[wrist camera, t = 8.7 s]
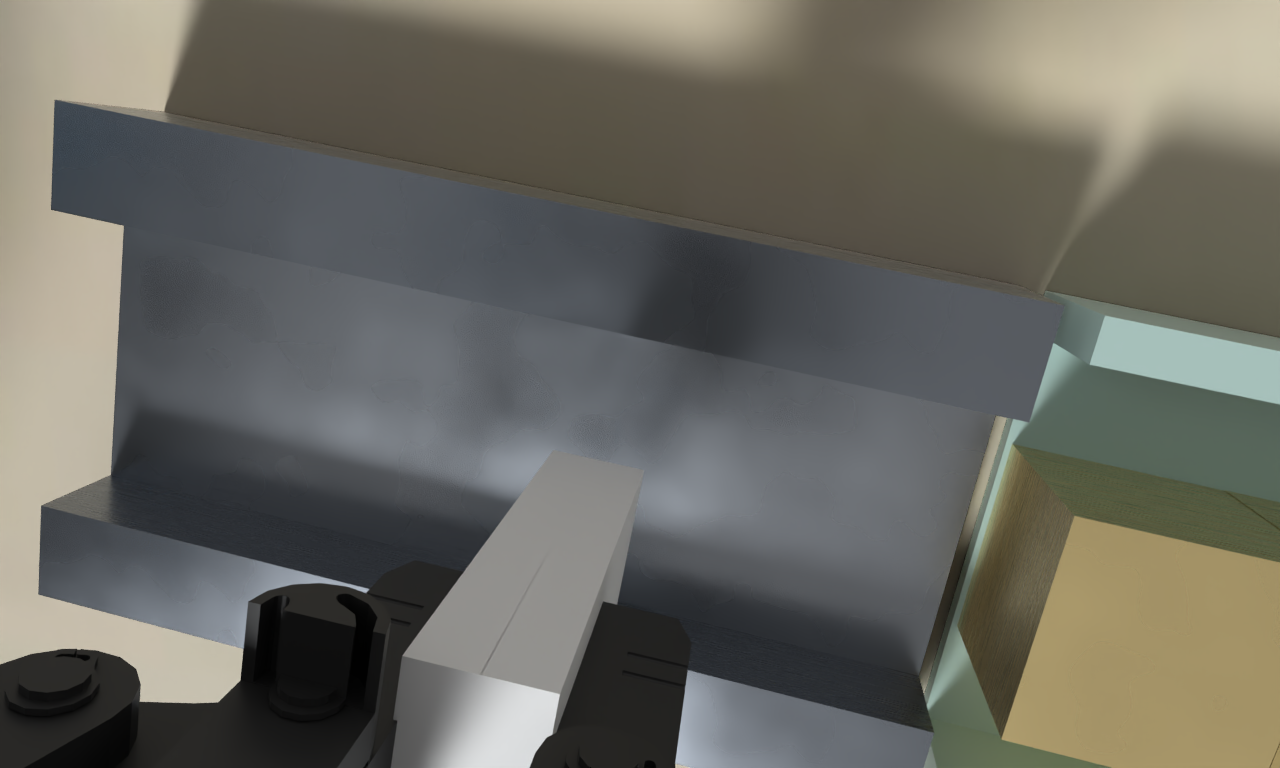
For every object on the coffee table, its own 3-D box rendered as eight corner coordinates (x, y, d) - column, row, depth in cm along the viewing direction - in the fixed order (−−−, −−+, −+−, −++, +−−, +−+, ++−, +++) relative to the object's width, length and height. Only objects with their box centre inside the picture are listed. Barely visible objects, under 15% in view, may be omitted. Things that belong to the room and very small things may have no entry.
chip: (956, 625, 19) (1001, 739, 15) (1012, 443, 18) (1074, 515, 14) (1156, 674, 19) (1254, 803, 15) (1224, 490, 18) (1347, 577, 14)
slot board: (136, 539, 22) (39, 594, 19) (162, 111, 20) (54, 99, 17) (888, 732, 20) (906, 824, 17) (1019, 285, 18) (1065, 305, 15)
